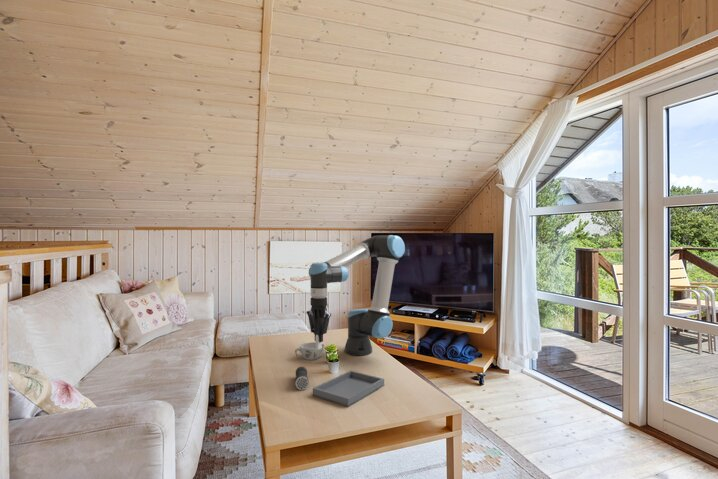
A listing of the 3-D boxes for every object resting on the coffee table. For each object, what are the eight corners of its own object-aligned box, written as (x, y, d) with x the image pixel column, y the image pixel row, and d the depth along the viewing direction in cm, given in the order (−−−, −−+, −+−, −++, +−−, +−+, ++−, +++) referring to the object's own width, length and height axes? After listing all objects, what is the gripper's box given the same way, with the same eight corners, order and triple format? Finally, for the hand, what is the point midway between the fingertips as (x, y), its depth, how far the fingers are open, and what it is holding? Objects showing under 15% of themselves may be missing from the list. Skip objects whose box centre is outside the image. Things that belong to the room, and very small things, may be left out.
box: (350, 377, 174) (350, 370, 174) (384, 385, 164) (384, 378, 164) (312, 395, 153) (312, 388, 153) (348, 406, 142) (348, 398, 142)
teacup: (321, 355, 206) (321, 341, 206) (325, 362, 194) (326, 347, 194) (293, 358, 202) (293, 343, 202) (296, 365, 190) (296, 349, 190)
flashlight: (303, 379, 173) (293, 374, 173) (308, 368, 174) (298, 363, 173) (305, 391, 158) (293, 387, 157) (310, 379, 159) (298, 374, 158)
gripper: (302, 296, 173) (302, 348, 173) (324, 299, 166) (324, 353, 166) (313, 294, 179) (313, 344, 179) (335, 297, 172) (335, 349, 172)
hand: (318, 348), depth 172 cm, fingers closed
